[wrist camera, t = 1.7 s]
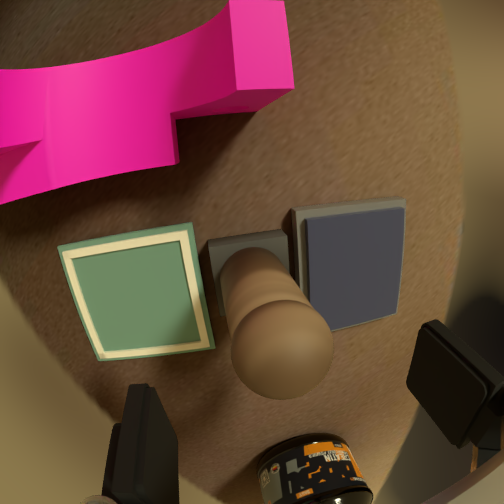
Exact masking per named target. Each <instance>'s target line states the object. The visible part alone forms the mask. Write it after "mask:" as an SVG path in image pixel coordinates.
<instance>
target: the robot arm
mask: <svg viewBox="0 0 504 504" xmlns="http://www.w3.org/2000/svg"><path fill="white" fill-rule="evenodd" d="M503 383H504V377H503V376H502V375H500V374H499V373H498V372H497V371H496V370H495V369H494V368H493V367H492V366H491V365H490V364H488V362H486V361H485V360H484V359H483V358H482V357H481V356H480V355H478V354H477V353H476V352H475V351H474V350H473V349H472V348H470V347H469V346H468V345H467V344H466V343H465V342H464V341H462V340H461V339H460V338H459V337H458V336H457V335H455V334H454V333H453V332H452V331H451V330H450V329H448V328H447V327H446V326H445V325H444V324H442V323H441V322H440V321H439V320H436V319H435V320H432V321H429V322H427V323H424V324H423V325H422V326H421V329H420V330H419V332H418V336H417V341H416V345H415V349H414V353H413V357H412V361H411V365H410V369H409V373H408V376H407V380H406V384H407V387H408V389H409V390H410V391H411V393H412V394H413V395H414V397H415V398H416V399H417V400H418V402H419V403H420V404H421V405H422V407H423V408H424V409H425V410H426V412H427V413H428V414H429V416H430V417H431V418H432V419H433V421H434V422H435V423H436V425H437V426H438V427H439V428H440V430H441V431H442V432H443V434H444V435H445V436H446V438H447V439H448V440H449V442H450V443H451V444H453V445H456V446H457V448H458V449H460V448H462V447H464V446H465V445H467V444H468V443H469V442H470V440H471V442H472V443H473V454H472V464H471V472H470V474H469V475H467V476H466V477H464V478H463V479H461V480H460V481H458V482H457V483H455V484H454V485H452V486H451V487H449V488H447V489H446V490H444V491H443V492H441V493H439V494H437V495H436V496H434V497H432V498H431V499H429V500H427V501H425V502H424V503H422V504H504V384H503ZM80 504H179V480H178V441H177V437H176V434H175V432H174V430H173V428H172V426H171V424H170V421H169V419H168V417H167V415H166V413H165V411H164V408H163V406H162V404H161V402H160V399H159V397H158V395H157V392H156V390H155V388H154V387H149V385H148V384H146V383H145V384H131V385H130V386H129V388H128V393H127V398H126V403H125V408H124V413H123V418H122V423H116V424H115V425H114V426H113V429H112V434H111V439H110V444H109V450H108V455H107V461H106V468H105V474H104V481H103V487H102V495H95V496H90V497H88V498H86V499H84V500H83V501H82V502H81V503H80Z"/></svg>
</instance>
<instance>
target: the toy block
mask: <svg viewBox="0 0 504 504" xmlns="http://www.w3.org/2000/svg"><path fill="white" fill-rule="evenodd" d="M293 89H294V80H293V71H292V61H291V53H290V44H289V36H288V28H287V21H286V13H285V6H284V1H272V0H229V1H228V3H227V4H226V6H225V7H224V8H223V9H222V11H221V12H220V13H219V14H217V15H216V16H215V17H214V18H213V19H211V20H210V21H208V22H207V23H205V24H203V25H202V26H200V27H198V28H196V29H194V30H192V31H190V32H188V33H186V34H184V35H181V36H179V37H176V38H174V39H171V40H168V41H166V42H163V43H160V44H157V45H154V46H150V47H147V48H144V49H140V50H136V51H133V52H129V53H125V54H121V55H116V56H112V57H107V58H103V59H98V60H93V61H88V62H82V63H76V64H70V65H63V66H56V67H47V68H37V69H22V70H3V69H0V204H3V203H7V202H10V201H13V200H17V199H20V198H24V197H27V196H31V195H34V194H38V193H42V192H46V191H49V190H53V189H56V188H60V187H64V186H67V185H71V184H75V183H79V182H83V181H87V180H92V179H96V178H101V177H105V176H110V175H115V174H120V173H125V172H131V171H136V170H142V169H148V168H155V167H161V166H169V165H175V164H177V163H179V162H180V160H179V150H178V141H177V131H176V119H184V118H191V117H199V116H208V115H218V114H229V113H241V112H257V111H258V110H260V109H262V108H263V107H265V106H266V105H268V104H269V103H271V102H273V101H274V100H276V99H278V98H279V97H281V96H283V95H284V94H286V93H288V92H289V91H291V90H293Z"/></svg>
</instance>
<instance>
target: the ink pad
mask: <svg viewBox="0 0 504 504" xmlns="http://www.w3.org/2000/svg"><path fill="white" fill-rule="evenodd" d="M291 215H292V230H293V245H294V263H295V282H296V284H297V285H298V287H299V288H300V290H301V291H302V292H303V294H304V295H305V297H306V298H307V300H308V301H309V302H310V304H311V305H312V307H313V308H314V309H315V310H316V311H317V312H318V313H319V314H320V315H321V316H322V317H323V318H324V320H325V321H326V323H327V324H328V326H329V328H330V331H331V332H332V331H336V330H340V329H344V328H348V327H352V326H356V325H360V324H363V323H367V322H371V321H374V320H378V319H381V318H385V317H388V316H392V315H395V314H397V310H398V303H399V295H400V287H401V277H402V267H403V255H404V241H405V221H406V199H404V198H401V197H398V196H397V197H386V198H375V199H365V200H356V201H346V202H337V203H328V204H319V205H311V206H302V207H294V208H291Z"/></svg>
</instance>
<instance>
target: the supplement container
mask: <svg viewBox="0 0 504 504" xmlns="http://www.w3.org/2000/svg"><path fill="white" fill-rule="evenodd" d="M256 473H257V478H258V480H259V483H260V487H261V492H262V496H263V500H264V504H371V503H372V501H373V493H372V491H371V489H370V488H368V486H367V484H366V482H365V480H364V478H363V476H362V474H361V472H360V470H359V468H358V466H357V464H356V462H355V460H354V458H353V456H352V454H351V452H350V449H349V446H348V444H347V443H346V441H345V440H344V439H343V438H341V437H339V436H337V435H334V434H328V433H317V434H309V435H304V436H300V437H297V438H293V439H291V440H288V441H286V442H283V443H281V444H279V445H278V446H276V447H274V448H273V449H271V450H270V451H269V452H267V453H266V454H265V455H264V456H263V457H262V458H261V460H260V461H259V463H258V465H257V470H256Z"/></svg>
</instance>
